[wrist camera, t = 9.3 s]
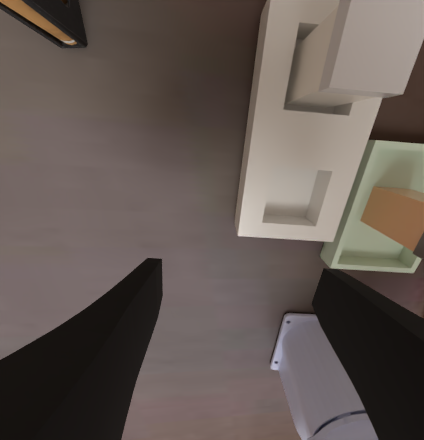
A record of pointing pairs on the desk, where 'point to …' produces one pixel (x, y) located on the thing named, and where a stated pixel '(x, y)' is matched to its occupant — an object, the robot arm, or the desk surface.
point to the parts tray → (361, 189)
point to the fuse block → (296, 138)
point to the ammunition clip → (50, 19)
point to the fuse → (357, 53)
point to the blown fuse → (397, 216)
